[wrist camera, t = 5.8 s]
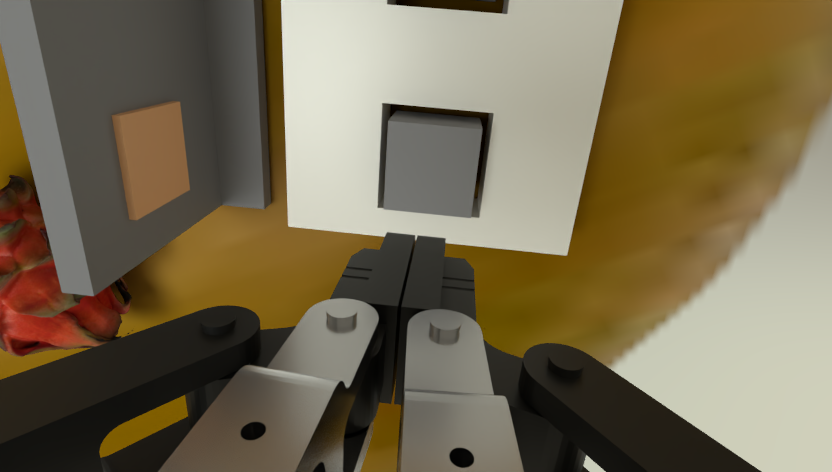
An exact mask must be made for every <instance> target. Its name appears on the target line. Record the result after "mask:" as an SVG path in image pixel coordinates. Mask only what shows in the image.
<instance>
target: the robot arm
mask: <svg viewBox="0 0 832 472" xmlns="http://www.w3.org/2000/svg"><path fill="white" fill-rule="evenodd" d="M445 241H446V238H439V237H430V236H420V235H418V236H417V240H416V244H415V235H410V234H400V233H391V232H387V233H386V235H385V238H384V241H383V243H382V246H381V248H380V250H374V249H365V248H364V249H362V250H361V251H359V252H358V253H356V254H354V255H353V256H351V258H350V260H349V262H348V264H347V266H346V268H345V270H344V272H343V274H342V277H341V278H340V280H339V282H338V284H337V286H336V288H335V290H334V292H333V294H332V296H331V298H330V300H326V301H322V302H320V303H317V304H316V305H314V306H312V307H311V308H310V309H309V310H308V311H307V312H306V314H305V315H304V316H303V318H302V319H301V320H300V322H299V323H298V325H297V326H294V327H288V328H278V329H265V330H260V320H259V317H258V316H257V315H256V314H255V313H254V312H253V311H251V310H249V309H247V308H243V307H239V306H216V307H211V308H207V309H203V310H200V311H197V312H194V313H191V314H189V315H186V316H183V317H180V318H177V319H174V320H171V321H168V322H165V323H163V324H160V325H157V326H154V327H151V328H148V329H145V330H142V331H140V332H137V333H134V334H131V335H128V336H125V337H122V338H119V339H117V340H114V341H111V342H108V343H105V344H102V345H99V346H96V347H93V348H91V349H88V350H85V351H82V352H79V353H76V354H73V355H70V356H68V357H65V358H62V359H59V360H56V361H53V362H50V363H47V364H45V365H42V366H39V367H36V368H33V369H30V370H27V371H24V372H22V373H19V374H16V375H13V376H10V377H7V378H4V379H1V380H0V472H360V470H361V467H362V464H363V461H364V458H365V455H366V452H367V449H368V446H369V443H370V439H371V436H372V432H373V420H374V418H375V416H376V413H377V410H378V405H379V402H381V403H389V404H391V401H392V396H393V391H394V386H395V381H396V387H395V401H394V404H399V405H401V415H400V427H399V439H398V455H397V472H589V471H588V470H587V469H586V468H584V466H583V464H584V461H585V457H586V455H587V456H589V457H590V458H591V459H592V460H593V461H594V462H595V463H597V464H598V465H599V466H600V467H601V468H602V469H604V470H605V471H606V472H761V471H760V470H758V469H757V468H755V467H754V466H752V465H751V464H749V463H748V462H746V461H745V460H743V459H742V458H740V457H739V456H738V455H736V454H734V453H733V452H732V451H730V450H729V449H727V448H725V447H724V446H723V445H721V444H720V443H718V442H717V441H715V440H714V439H712V438H711V437H709V436H708V435H707V434H705V433H704V432H702V431H700V430H699V429H698V428H696V427H695V426H693V425H692V424H690V423H689V422H687V421H686V420H684V419H683V418H681V417H680V416H678V415H677V414H675V413H674V412H673V411H671V410H670V409H668V408H667V407H665V406H663V405H662V404H661V403H659V402H658V401H656V400H655V399H653V398H652V397H651V396H649V395H647V394H646V393H645V392H643V391H642V390H640V389H639V388H637V387H636V386H634V385H633V384H631V383H629V382H628V381H627V380H625V379H624V378H622V377H621V376H619V375H618V374H617V373H615V372H614V371H612V370H611V369H609V368H608V367H606V366H605V365H603V364H602V363H600V362H599V361H597V360H596V359H594V358H593V357H592V356H590V355H588V354H587V353H585V352H583V351H581V350H579V349H576V348H573V347H570V346H567V345H562V344H555V343H545V344H539V345H535V346H533V347H531V348H530V349H528V350H527V351H526V353H525V354H524V357H523V358H520V357H517V356H513V355H510V354H508V353H505V352H502V351H500V350H498V349H496V348H494V347H493V346H491V345H490V344H488V343H487V342H486V341H485V340H484V339H483V336H482V331H481V328H480V327H479V325H478V324H477V323H476V308H475V292H474V290H475V287H474V269H473V268H472V267H471V266H470V264H469V263H468V262H467V261H466V260H465V259H460V258H451V257H444V253H445ZM183 395H185V397H186V404H187V411H188V417H186V418H184V419H182V420H180V421H178V422H176V423H174V424H172V425H170V426H168V427H166V428H164V429H162V430H160V431H158V432H156V433H154V434H152V435H150V436H148V437H146V438H144V439H142V440H140V441H138V442H136V443H133V444H131V445H129V446H127V447H125V448H123V449H121V450H119V451H117V452H115V453H113V454H111V455H109V456H106V457H102V458H100V455H99V450H100V446H101V443H102V441H103V440H104V438H105V437H106V436H107V435H108V433H109V432H110V431H112V430H113V429H114V428H116V427H117V426H118V425H120V424H122V423H124V422H126V421H129V420H131V419H133V418H135V417H137V416H139V415H142V414H144V413H146V412H148V411H150V410H152V409H155V408H157V407H159V406H161V405H163V404H166V403H168V402H170V401H172V400H174V399H176V398H179V397H181V396H183Z"/></svg>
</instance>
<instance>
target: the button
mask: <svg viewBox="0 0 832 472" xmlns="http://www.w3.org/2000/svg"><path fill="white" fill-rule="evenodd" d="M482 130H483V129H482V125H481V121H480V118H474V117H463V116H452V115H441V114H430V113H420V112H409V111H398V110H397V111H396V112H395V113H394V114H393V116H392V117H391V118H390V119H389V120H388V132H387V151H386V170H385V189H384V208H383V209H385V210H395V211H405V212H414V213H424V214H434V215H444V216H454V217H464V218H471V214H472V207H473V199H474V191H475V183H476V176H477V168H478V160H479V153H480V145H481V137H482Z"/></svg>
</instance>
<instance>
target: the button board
mask: <svg viewBox="0 0 832 472" xmlns="http://www.w3.org/2000/svg"><path fill="white" fill-rule="evenodd" d="M622 5H623V0H504V3H503V11H502V14H500V13H488V12H475V11H463V10H450V9H438V8H425V7H413V6H401V5H396V0H281V11H282V44H283V76H284V108H285V140H286V172H287V204H288V227H298V228H307V229H317V230H327V231H336V232H346V233H355V234H365V235H374V236H384V237H385V235H386V233H387V232H391V233H400V234H410V235H415V240H417V236H418V235H420V236H430V237H439V238H446V241H445V243H451V244H460V245H470V246H480V247H489V248H499V249H508V250H518V251H527V252H537V253H547V254H556V255H566V256H567V253H568V248H569V244H570V239H571V235H572V230H573V226H574V221H575V217H576V212H577V208H578V203H579V199H580V194H581V190H582V185H583V181H584V176H585V172H586V167H587V163H588V158H589V154H590V149H591V145H592V140H593V136H594V131H595V127H596V122H597V118H598V113H599V109H600V104H601V100H602V95H603V91H604V86H605V82H606V77H607V73H608V68H609V64H610V59H611V55H612V50H613V46H614V41H615V37H616V32H617V27H618V23H619V18H620V14H621V9H622ZM391 104H399V105H410V106H421V107H432V108H443V109H454V110H465V111H476V112H487V113H489V116H488V123H487V131H486V138H485V146H484V153H483V161H482V168H481V176H480V183H479V191H478V198H474V199H473V207H472V214H471V218H464V217H454V216H444V215H434V214H424V213H414V212H405V211H395V210H385V209H383V208H384V189H385V170H386V151H387V132H388V120H389V119H390V108H391Z"/></svg>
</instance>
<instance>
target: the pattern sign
mask: <svg viewBox="0 0 832 472" xmlns="http://www.w3.org/2000/svg"><path fill="white" fill-rule="evenodd" d="M0 43H1V47H2V51H3V55H4V59H5V63H6V67H7V71H8V75H9V80H10V84H11V88H12V92H13V96H14V100H15V104H16V108H17V112H18V116H19V120H20V124H21V128H22V132H23V136H24V140H25V145H26V149H27V153H28V157H29V161H30V165H31V169H32V173H33V177H34V181H35V185H36V189H37V193H38V197H39V201H40V205H41V209H42V214H43V218H44V222H45V226H46V230H47V234H48V238H49V242H50V246H51V250H52V254H53V258H54V262H55V266H56V270H57V274H58V279H59V283H60V287H61V291H62V293H70V294H79V295H87V296H95V295H97V294H98V293H99V292H101V291H102V290H103V289H105V288H106V287H108V286H109V285H110V284H112V283H113V282H115V281H116V280H117V279H119V278H120V277H122V276H123V275H124V274H126V273H127V272H129V271H130V270H131V269H133V268H134V267H136V266H137V265H138V264H140V263H141V262H143V261H144V260H145V259H147V258H148V257H150V256H151V255H152V254H154V253H155V252H157V251H158V250H159V249H161V248H162V247H164V246H165V245H166V244H168V243H169V242H171V241H172V240H173V239H175V238H176V237H178V236H179V235H180V234H182V233H183V232H185V231H186V230H187V229H189V228H190V227H192V226H193V225H194V224H196V223H197V222H198V221H200V220H201V219H203V218H204V217H205V216H207V215H208V214H210V213H211V212H212V211H214V210H215V209H217V208H218V207H219V206H221V205H228V206H238V207H247V208H257V209H265V208H266V207H268V206H269V205H270V204H271V191H270V169H269V147H268V125H267V103H266V81H265V59H264V37H263V15H262V0H0Z"/></svg>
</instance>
